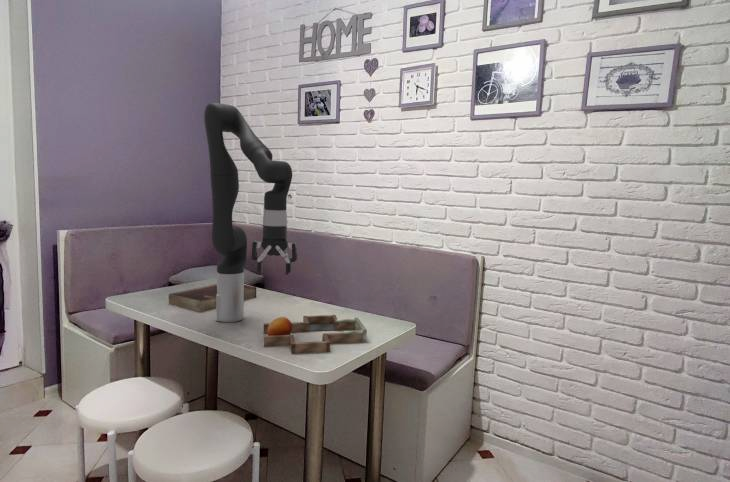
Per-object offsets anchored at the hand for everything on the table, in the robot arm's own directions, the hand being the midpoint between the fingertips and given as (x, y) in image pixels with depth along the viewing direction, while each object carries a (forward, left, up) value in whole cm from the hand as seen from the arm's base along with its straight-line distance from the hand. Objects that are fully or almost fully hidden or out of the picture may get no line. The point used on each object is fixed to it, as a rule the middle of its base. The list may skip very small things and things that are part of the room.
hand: (274, 273), depth 146 cm
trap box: (+13, -5, -20) cm, 24 cm away
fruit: (+2, -5, -20) cm, 21 cm away
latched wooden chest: (-23, +44, -21) cm, 54 cm away
